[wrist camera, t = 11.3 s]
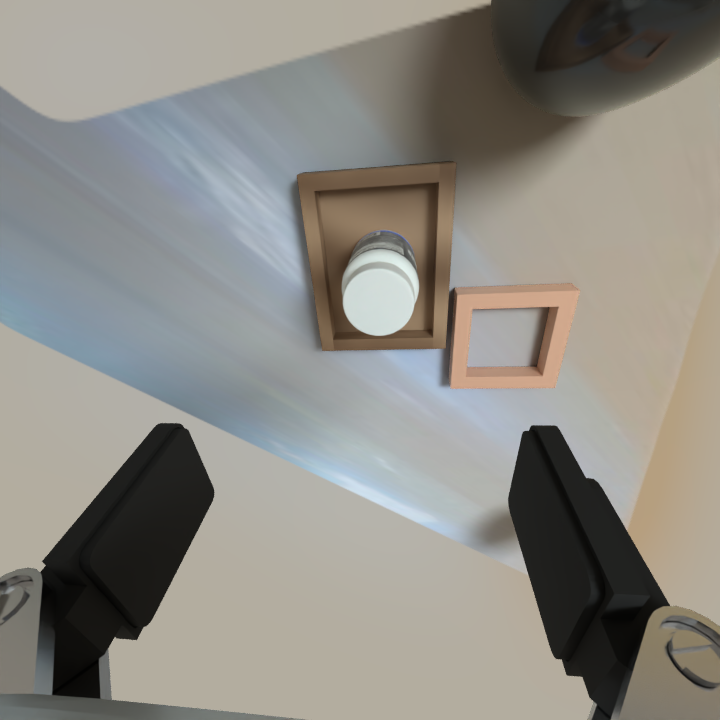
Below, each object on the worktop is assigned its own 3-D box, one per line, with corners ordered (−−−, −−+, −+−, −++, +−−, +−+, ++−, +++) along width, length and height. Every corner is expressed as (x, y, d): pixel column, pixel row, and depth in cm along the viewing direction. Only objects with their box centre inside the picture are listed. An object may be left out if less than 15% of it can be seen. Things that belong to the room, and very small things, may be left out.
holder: (454, 287, 28) (457, 294, 27) (571, 283, 27) (580, 290, 26) (448, 378, 32) (450, 388, 31) (548, 377, 31) (555, 388, 30)
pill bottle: (411, 293, 28) (416, 346, 21) (350, 289, 28) (335, 340, 21) (418, 229, 25) (427, 265, 18) (352, 225, 26) (335, 259, 18)
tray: (303, 172, 25) (296, 174, 23) (452, 161, 24) (456, 162, 22) (326, 339, 31) (322, 350, 30) (442, 336, 30) (445, 348, 29)
